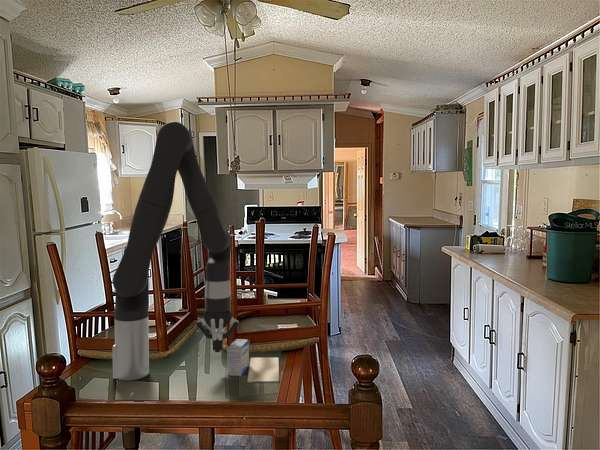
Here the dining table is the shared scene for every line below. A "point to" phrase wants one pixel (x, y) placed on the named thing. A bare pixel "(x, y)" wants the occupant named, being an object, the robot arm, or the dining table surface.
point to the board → (263, 370)
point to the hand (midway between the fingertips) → (217, 351)
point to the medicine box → (238, 357)
